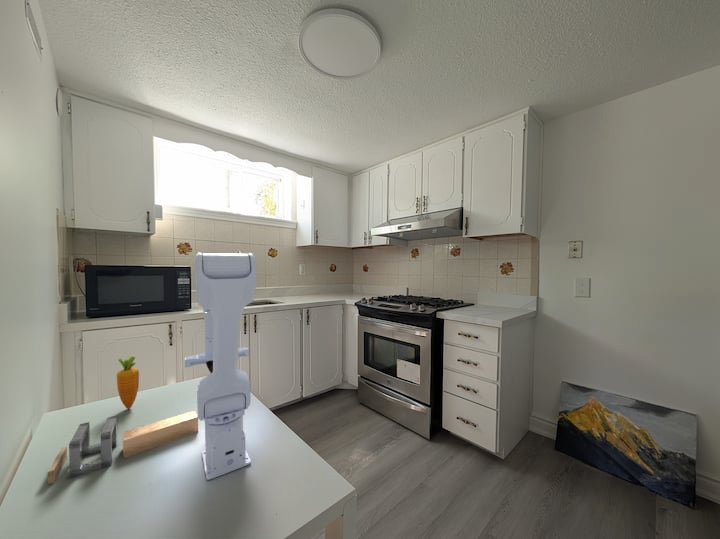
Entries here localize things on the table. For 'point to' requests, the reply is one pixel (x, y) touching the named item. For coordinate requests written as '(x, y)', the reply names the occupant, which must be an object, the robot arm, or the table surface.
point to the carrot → (128, 382)
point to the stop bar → (57, 465)
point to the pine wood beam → (159, 433)
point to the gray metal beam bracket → (91, 448)
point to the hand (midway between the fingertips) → (218, 388)
